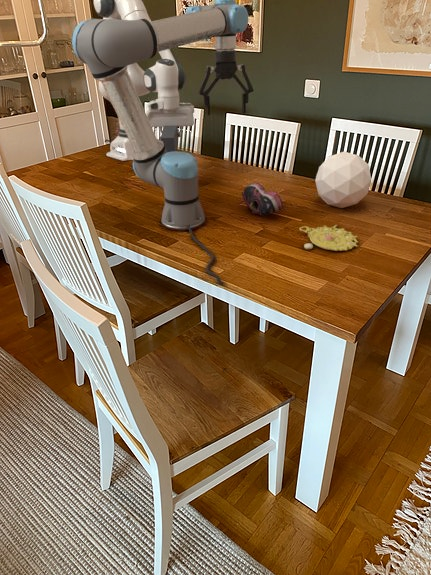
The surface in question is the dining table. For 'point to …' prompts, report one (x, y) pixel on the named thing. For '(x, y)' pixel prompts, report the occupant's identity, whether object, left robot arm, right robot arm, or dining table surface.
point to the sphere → (343, 179)
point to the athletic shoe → (261, 200)
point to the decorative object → (330, 238)
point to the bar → (170, 138)
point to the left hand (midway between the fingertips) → (171, 136)
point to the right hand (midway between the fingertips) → (226, 113)
